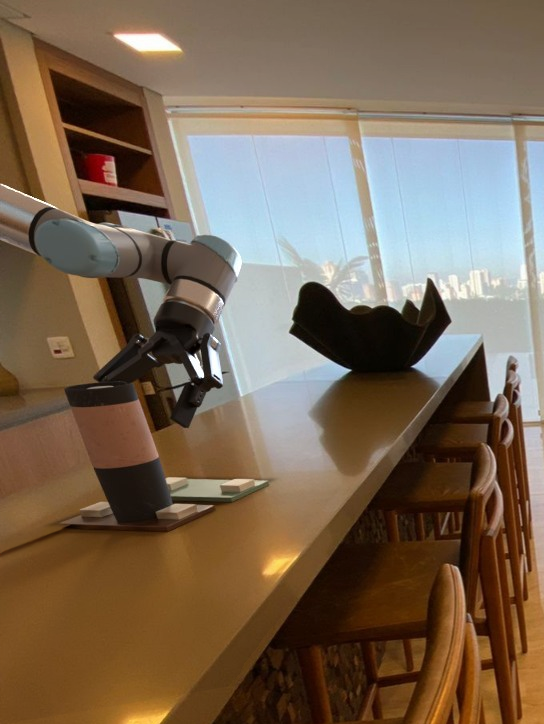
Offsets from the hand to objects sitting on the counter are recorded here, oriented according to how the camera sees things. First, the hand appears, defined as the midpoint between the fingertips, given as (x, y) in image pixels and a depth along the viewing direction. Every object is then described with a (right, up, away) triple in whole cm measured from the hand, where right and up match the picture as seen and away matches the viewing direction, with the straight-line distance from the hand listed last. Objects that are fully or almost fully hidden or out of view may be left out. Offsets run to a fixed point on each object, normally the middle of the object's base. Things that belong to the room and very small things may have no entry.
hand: (138, 423), depth 87 cm
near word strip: (-1, -15, +2) cm, 15 cm away
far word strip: (0, -10, +13) cm, 17 cm away
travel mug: (0, -14, +1) cm, 14 cm away
